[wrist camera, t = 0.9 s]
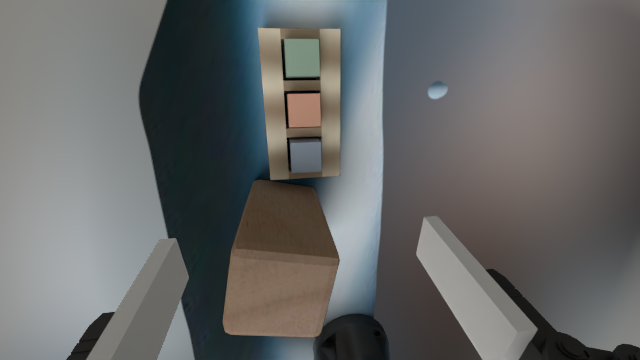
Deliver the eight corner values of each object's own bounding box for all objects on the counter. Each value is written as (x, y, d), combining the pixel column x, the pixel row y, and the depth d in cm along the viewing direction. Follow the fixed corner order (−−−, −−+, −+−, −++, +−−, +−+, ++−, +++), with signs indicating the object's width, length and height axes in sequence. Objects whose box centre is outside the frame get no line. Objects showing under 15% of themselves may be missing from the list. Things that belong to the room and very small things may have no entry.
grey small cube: (317, 163, 39) (321, 171, 36) (290, 165, 39) (291, 173, 35) (317, 137, 38) (321, 141, 34) (289, 138, 38) (290, 143, 34)
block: (253, 176, 41) (230, 246, 22) (316, 185, 43) (344, 257, 24) (245, 233, 44) (219, 339, 25) (305, 239, 46) (322, 342, 27)
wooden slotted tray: (334, 168, 42) (340, 175, 39) (271, 172, 41) (270, 180, 37) (334, 35, 36) (340, 28, 33) (260, 35, 35) (257, 28, 31)
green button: (315, 77, 36) (319, 75, 32) (285, 78, 35) (286, 76, 31) (314, 44, 34) (319, 39, 31) (283, 44, 34) (284, 38, 30)
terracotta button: (316, 123, 38) (320, 126, 34) (288, 124, 37) (289, 127, 33) (316, 93, 36) (320, 93, 33) (286, 94, 36) (287, 94, 32)
